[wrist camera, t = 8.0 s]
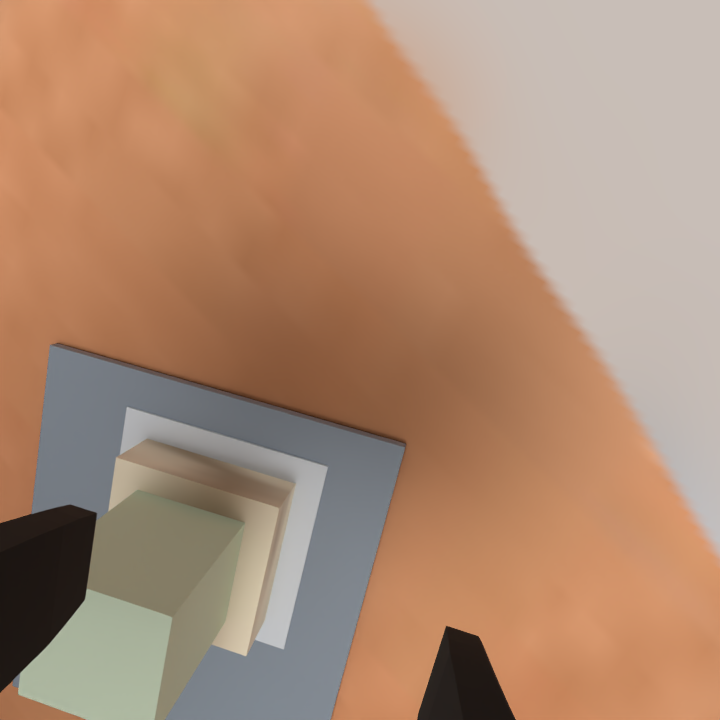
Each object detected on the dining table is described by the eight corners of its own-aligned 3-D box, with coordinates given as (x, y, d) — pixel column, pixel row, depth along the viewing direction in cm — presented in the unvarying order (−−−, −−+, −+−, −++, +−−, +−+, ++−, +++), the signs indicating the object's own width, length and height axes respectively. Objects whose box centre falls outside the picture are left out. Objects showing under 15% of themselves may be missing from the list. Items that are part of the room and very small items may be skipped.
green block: (123, 587, 20) (17, 694, 15) (137, 489, 19) (30, 569, 14) (225, 621, 20) (150, 742, 15) (245, 522, 19) (172, 617, 14)
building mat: (19, 679, 25) (10, 687, 25) (57, 343, 22) (48, 345, 21) (312, 786, 24) (309, 797, 23) (406, 443, 20) (404, 448, 19)
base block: (125, 573, 22) (94, 604, 21) (147, 438, 21) (116, 457, 19) (264, 620, 22) (246, 656, 20) (296, 483, 20) (279, 508, 18)
